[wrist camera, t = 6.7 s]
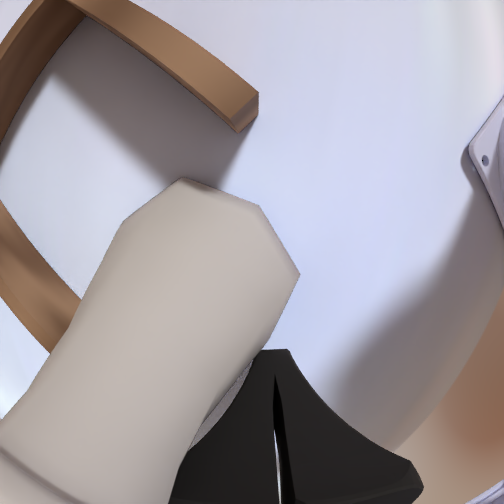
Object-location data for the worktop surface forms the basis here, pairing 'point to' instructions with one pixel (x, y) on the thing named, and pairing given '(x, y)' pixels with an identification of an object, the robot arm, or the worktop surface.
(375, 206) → the worktop surface
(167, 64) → the box
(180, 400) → the flask
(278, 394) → the robot arm
